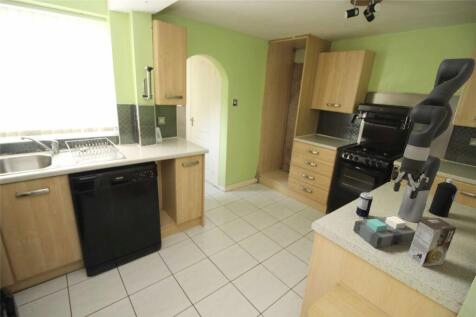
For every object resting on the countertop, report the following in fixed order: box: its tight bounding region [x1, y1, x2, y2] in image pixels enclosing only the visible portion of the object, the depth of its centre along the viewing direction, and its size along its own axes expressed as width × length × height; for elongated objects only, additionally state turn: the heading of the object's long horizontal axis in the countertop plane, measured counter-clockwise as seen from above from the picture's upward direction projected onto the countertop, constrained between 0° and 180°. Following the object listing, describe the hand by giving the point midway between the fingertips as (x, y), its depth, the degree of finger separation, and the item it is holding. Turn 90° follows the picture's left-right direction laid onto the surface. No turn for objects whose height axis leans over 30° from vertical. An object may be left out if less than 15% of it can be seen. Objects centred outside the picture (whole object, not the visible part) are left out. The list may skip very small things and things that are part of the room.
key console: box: [352, 216, 416, 249], centre depth 98 cm, size 21×12×5 cm, turn 106°
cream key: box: [385, 215, 407, 229], centre depth 98 cm, size 5×5×4 cm
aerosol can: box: [427, 178, 459, 218], centre depth 118 cm, size 8×8×20 cm
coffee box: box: [407, 217, 457, 267], centre depth 83 cm, size 9×6×16 cm
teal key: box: [366, 218, 387, 232], centre depth 96 cm, size 5×5×4 cm
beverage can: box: [355, 191, 374, 219], centre depth 113 cm, size 6×6×12 cm
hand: (403, 194), depth 94 cm, fingers open, 6 cm apart
